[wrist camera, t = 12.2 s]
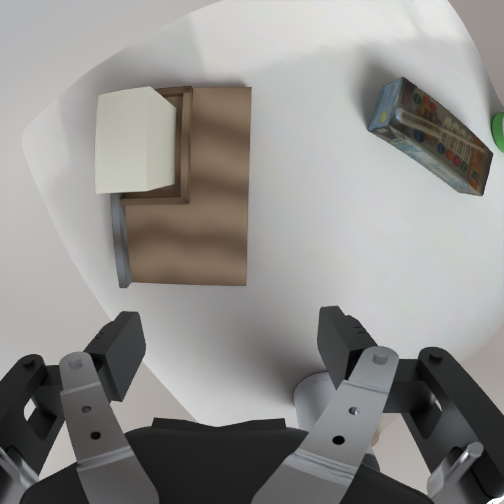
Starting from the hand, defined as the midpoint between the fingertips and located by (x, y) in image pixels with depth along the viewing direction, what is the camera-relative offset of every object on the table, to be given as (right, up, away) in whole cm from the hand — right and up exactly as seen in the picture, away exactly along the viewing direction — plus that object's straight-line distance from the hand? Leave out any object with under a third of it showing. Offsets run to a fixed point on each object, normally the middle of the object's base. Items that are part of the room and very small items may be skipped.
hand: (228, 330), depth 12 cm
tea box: (-10, +16, +18) cm, 26 cm away
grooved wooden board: (-7, +11, +21) cm, 25 cm away
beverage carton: (+26, +19, +21) cm, 38 cm away
